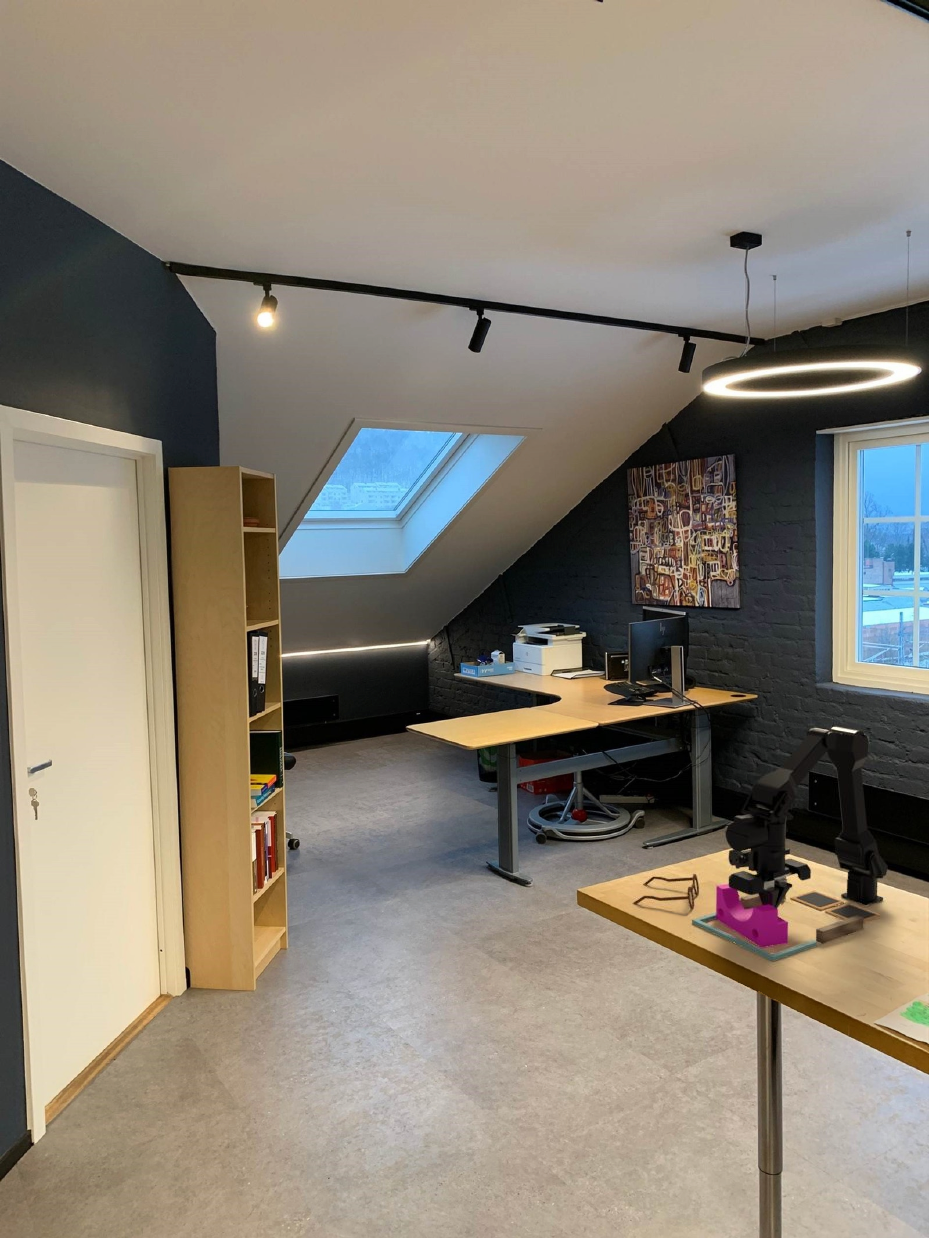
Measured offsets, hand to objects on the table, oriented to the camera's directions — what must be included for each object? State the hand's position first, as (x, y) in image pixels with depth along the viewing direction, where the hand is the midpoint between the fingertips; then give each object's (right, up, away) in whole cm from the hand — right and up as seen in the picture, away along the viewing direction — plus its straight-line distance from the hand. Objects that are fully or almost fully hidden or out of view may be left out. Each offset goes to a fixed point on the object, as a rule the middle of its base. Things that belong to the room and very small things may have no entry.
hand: (769, 916), depth 186 cm
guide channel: (+8, -2, +5) cm, 10 cm away
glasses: (-17, -2, +18) cm, 25 cm away
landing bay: (-4, -3, -2) cm, 5 cm away
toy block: (-4, -3, 0) cm, 5 cm away
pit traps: (+18, -2, +11) cm, 21 cm away
